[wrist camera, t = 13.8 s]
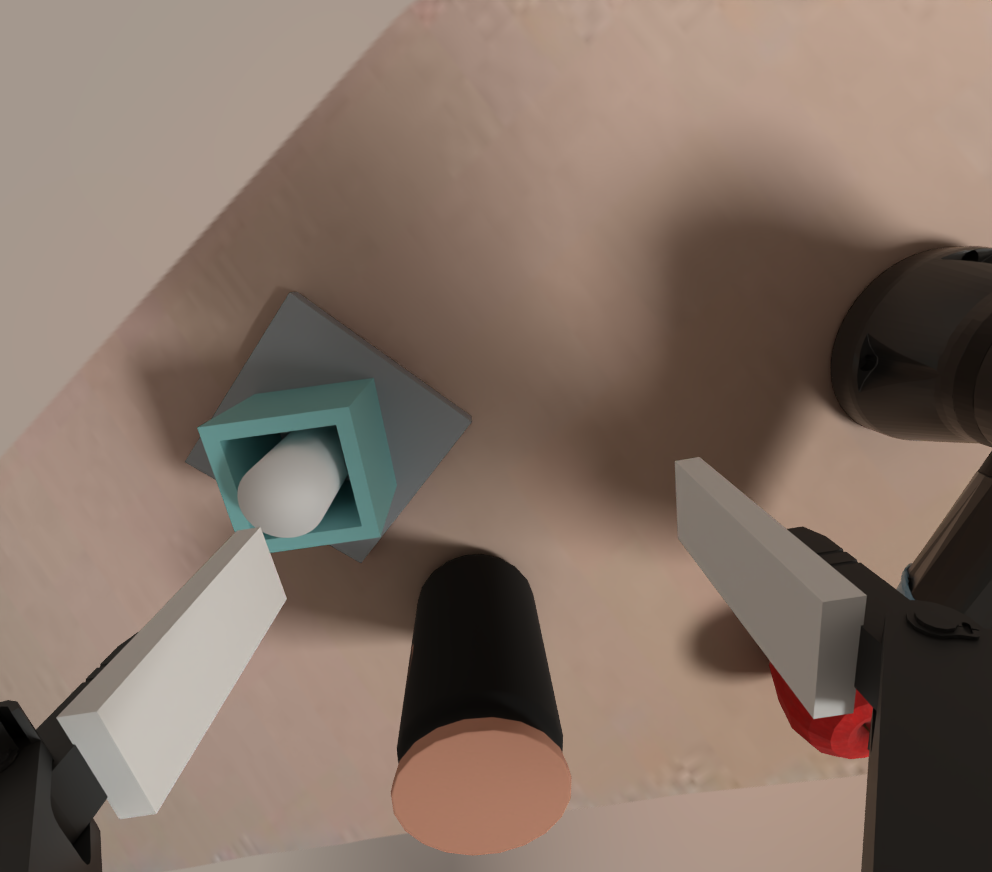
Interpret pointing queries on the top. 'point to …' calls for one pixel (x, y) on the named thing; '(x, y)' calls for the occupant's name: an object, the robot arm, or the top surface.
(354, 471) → the teal storage bin
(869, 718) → the apple
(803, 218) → the top surface
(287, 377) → the grey square base plate
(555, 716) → the coffee jar
